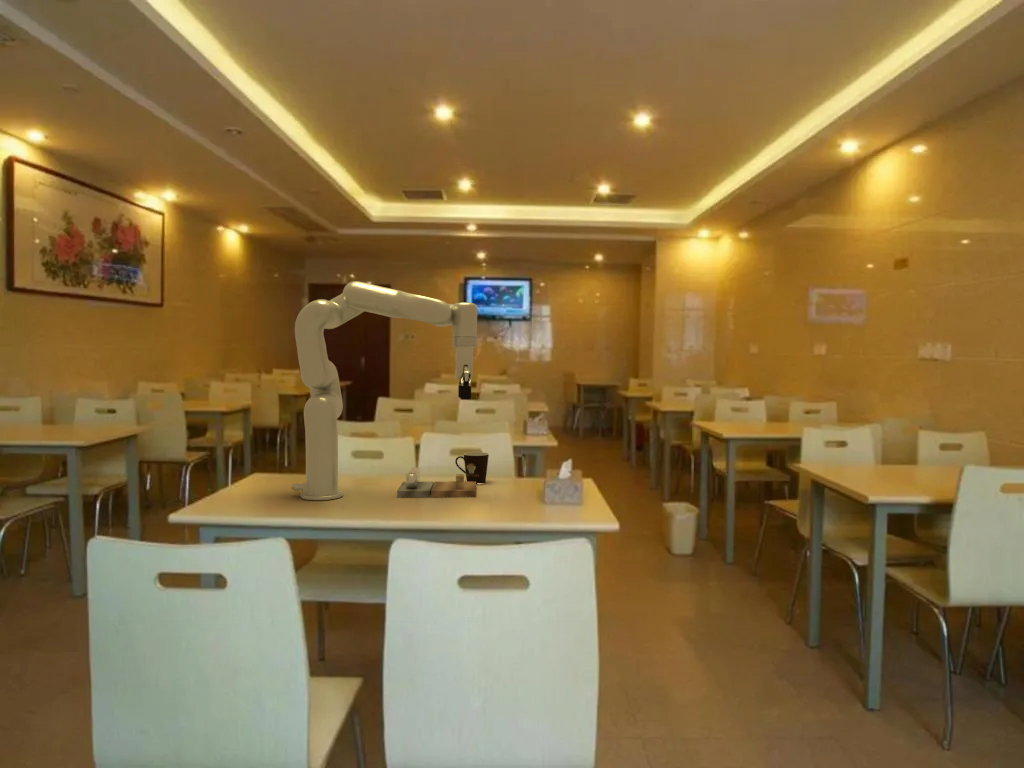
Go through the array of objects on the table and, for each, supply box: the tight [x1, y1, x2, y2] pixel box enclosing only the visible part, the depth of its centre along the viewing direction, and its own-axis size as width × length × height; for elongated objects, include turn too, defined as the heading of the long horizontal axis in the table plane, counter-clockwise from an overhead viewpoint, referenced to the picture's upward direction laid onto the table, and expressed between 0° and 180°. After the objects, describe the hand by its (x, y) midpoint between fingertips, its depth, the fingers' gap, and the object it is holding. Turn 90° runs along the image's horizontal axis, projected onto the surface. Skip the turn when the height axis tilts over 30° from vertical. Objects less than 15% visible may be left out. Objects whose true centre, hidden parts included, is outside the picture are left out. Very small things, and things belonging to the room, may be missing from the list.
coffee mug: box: [454, 451, 490, 484], centre depth 237 cm, size 12×9×10 cm
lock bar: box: [405, 467, 420, 488], centre depth 220 cm, size 15×4×4 cm, turn 2°
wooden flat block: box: [396, 473, 477, 498], centre depth 219 cm, size 24×16×6 cm, turn 92°
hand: (464, 398), depth 212 cm, fingers open, 9 cm apart
